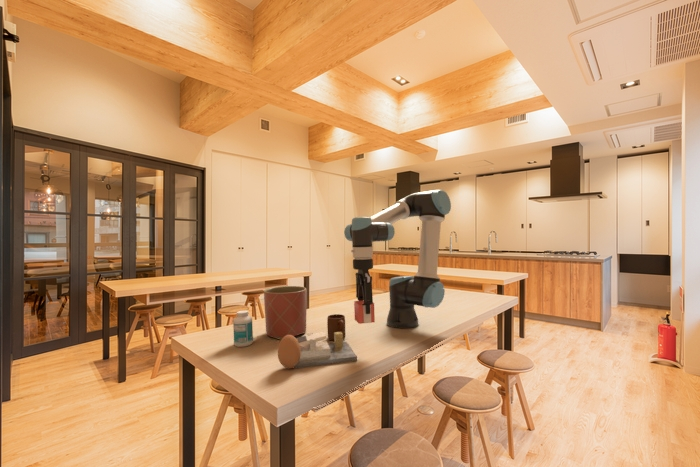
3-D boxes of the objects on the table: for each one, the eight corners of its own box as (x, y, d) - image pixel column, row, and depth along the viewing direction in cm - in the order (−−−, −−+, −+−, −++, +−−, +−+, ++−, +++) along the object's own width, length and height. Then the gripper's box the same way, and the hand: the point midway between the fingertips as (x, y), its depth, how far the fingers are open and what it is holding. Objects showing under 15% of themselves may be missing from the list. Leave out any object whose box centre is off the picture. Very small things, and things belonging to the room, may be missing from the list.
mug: (352, 342, 129) (351, 319, 129) (334, 345, 126) (334, 322, 126) (341, 334, 140) (341, 313, 140) (325, 337, 137) (324, 315, 137)
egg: (300, 371, 102) (299, 338, 102) (276, 373, 102) (275, 339, 101) (302, 361, 110) (300, 330, 110) (280, 363, 109) (278, 332, 109)
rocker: (324, 334, 117) (323, 330, 117) (326, 339, 111) (326, 335, 111) (297, 341, 114) (296, 337, 114) (298, 346, 109) (297, 342, 109)
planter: (277, 343, 130) (276, 295, 131) (257, 333, 145) (256, 289, 145) (315, 333, 143) (314, 289, 143) (293, 325, 157) (292, 284, 157)
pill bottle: (247, 340, 136) (247, 308, 136) (256, 344, 130) (255, 311, 130) (230, 344, 130) (229, 311, 131) (238, 348, 125) (238, 314, 125)
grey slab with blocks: (346, 345, 126) (346, 325, 126) (357, 360, 111) (356, 337, 111) (290, 351, 121) (289, 330, 121) (293, 368, 105) (292, 344, 105)
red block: (369, 318, 122) (369, 299, 122) (374, 322, 117) (374, 303, 117) (354, 319, 121) (354, 301, 121) (358, 323, 115) (358, 304, 115)
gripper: (347, 257, 127) (349, 314, 127) (360, 260, 109) (362, 328, 109) (365, 256, 129) (366, 313, 129) (380, 259, 110) (383, 325, 110)
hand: (364, 319), depth 119 cm, fingers closed on red block, 6 cm apart
